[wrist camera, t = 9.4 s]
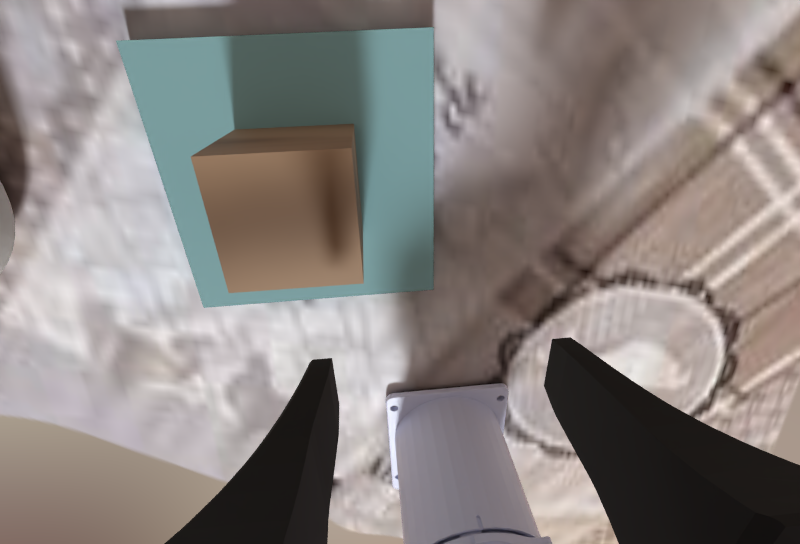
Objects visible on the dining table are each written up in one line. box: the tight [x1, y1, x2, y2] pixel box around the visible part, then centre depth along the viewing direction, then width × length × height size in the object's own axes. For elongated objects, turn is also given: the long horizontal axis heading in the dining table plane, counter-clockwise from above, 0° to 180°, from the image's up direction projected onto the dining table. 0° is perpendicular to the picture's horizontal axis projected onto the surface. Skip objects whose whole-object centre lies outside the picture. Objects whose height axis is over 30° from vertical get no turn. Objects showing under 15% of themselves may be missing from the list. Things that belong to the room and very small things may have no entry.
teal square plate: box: [116, 27, 434, 308], centre depth 19 cm, size 12×12×1 cm
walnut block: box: [191, 124, 364, 293], centre depth 16 cm, size 5×5×5 cm
